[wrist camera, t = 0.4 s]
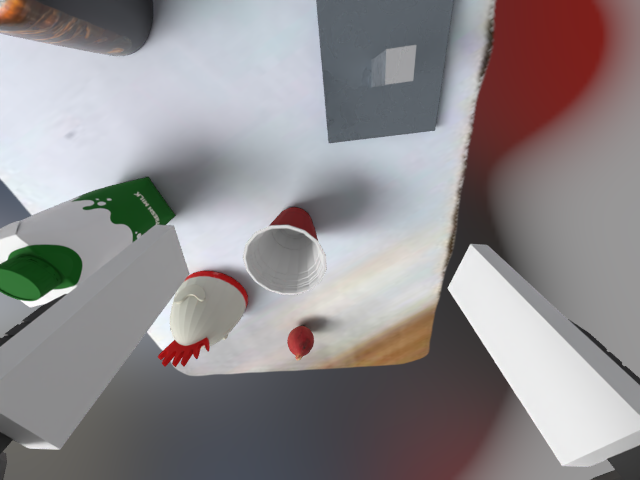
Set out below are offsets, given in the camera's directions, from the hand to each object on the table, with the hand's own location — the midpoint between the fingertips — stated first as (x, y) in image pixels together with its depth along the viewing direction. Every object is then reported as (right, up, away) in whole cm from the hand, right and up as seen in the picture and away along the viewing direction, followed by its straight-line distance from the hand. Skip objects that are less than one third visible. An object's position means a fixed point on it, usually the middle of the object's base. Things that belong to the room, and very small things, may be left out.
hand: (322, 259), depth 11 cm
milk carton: (-29, +7, +27) cm, 40 cm away
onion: (-4, -20, +44) cm, 48 cm away
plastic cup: (-5, +4, +28) cm, 29 cm away
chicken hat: (-23, -11, +38) cm, 46 cm away
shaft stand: (+7, +21, +17) cm, 28 cm away
